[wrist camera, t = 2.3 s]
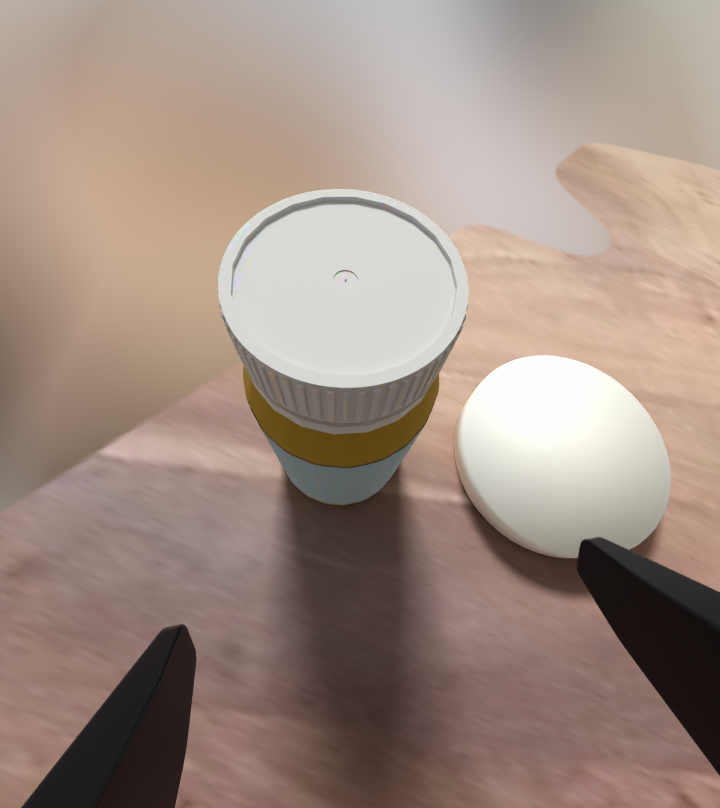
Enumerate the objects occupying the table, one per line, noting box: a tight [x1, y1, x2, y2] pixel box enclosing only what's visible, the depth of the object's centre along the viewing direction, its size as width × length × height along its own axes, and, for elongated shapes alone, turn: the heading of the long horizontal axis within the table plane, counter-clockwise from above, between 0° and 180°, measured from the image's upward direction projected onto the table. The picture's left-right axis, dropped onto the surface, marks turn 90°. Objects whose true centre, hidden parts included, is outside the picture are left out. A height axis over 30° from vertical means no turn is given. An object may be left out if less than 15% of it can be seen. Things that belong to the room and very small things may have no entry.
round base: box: [454, 356, 671, 558], centre depth 23 cm, size 12×12×2 cm
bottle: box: [218, 189, 468, 506], centre depth 16 cm, size 7×7×15 cm
